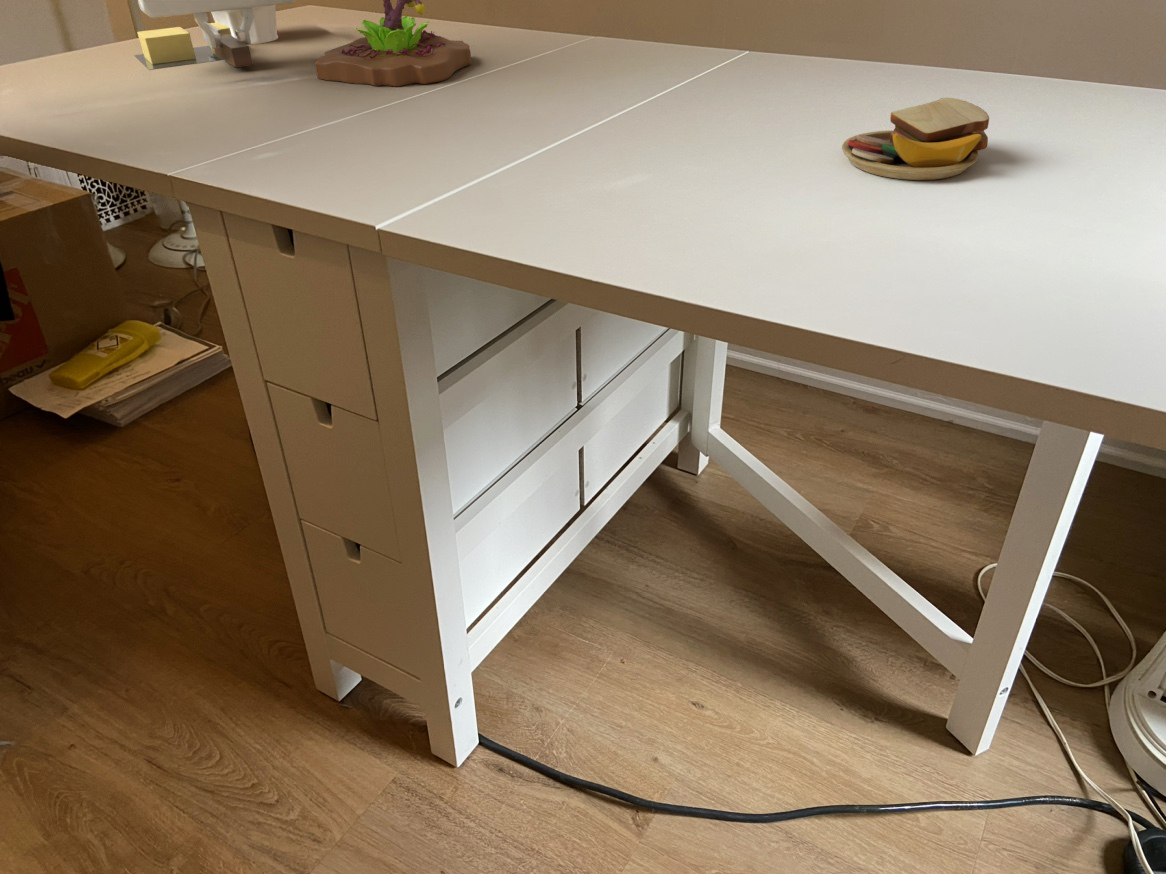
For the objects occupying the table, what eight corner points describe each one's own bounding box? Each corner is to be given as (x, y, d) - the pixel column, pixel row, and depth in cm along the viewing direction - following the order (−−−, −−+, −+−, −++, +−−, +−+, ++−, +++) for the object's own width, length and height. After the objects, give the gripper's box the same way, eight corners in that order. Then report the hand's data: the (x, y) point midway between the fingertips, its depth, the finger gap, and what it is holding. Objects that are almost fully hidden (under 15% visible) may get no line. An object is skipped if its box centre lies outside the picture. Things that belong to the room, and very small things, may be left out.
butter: (152, 64, 124) (144, 38, 122) (144, 57, 128) (137, 31, 126) (196, 59, 126) (189, 32, 124) (187, 52, 131) (180, 26, 129)
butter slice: (222, 55, 128) (215, 29, 126) (211, 48, 132) (204, 23, 130) (235, 53, 129) (229, 27, 127) (224, 47, 133) (218, 22, 131)
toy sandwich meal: (823, 146, 89) (829, 97, 87) (951, 139, 90) (961, 91, 88) (867, 187, 79) (875, 133, 76) (1010, 179, 80) (1024, 126, 77)
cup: (291, 50, 135) (275, -31, 128) (206, 56, 132) (185, -26, 126) (294, 35, 145) (279, -41, 138) (215, 40, 142) (196, -36, 136)
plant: (366, 51, 133) (353, -32, 126) (486, 56, 128) (480, -30, 122) (296, 83, 117) (278, -10, 111) (431, 89, 113) (420, -7, 106)
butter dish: (151, 77, 122) (148, 69, 121) (135, 62, 130) (133, 55, 130) (245, 64, 127) (243, 56, 127) (224, 50, 136) (223, 43, 135)
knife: (253, 65, 119) (248, 41, 117) (235, 67, 118) (230, 43, 116) (213, 40, 133) (208, 18, 131) (197, 41, 132) (192, 20, 130)
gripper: (122, -62, 106) (156, 59, 114) (288, -73, 115) (309, 40, 123) (114, -66, 111) (147, 51, 119) (275, -76, 120) (295, 34, 128)
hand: (231, 46), depth 121 cm, fingers closed on knife, 2 cm apart
